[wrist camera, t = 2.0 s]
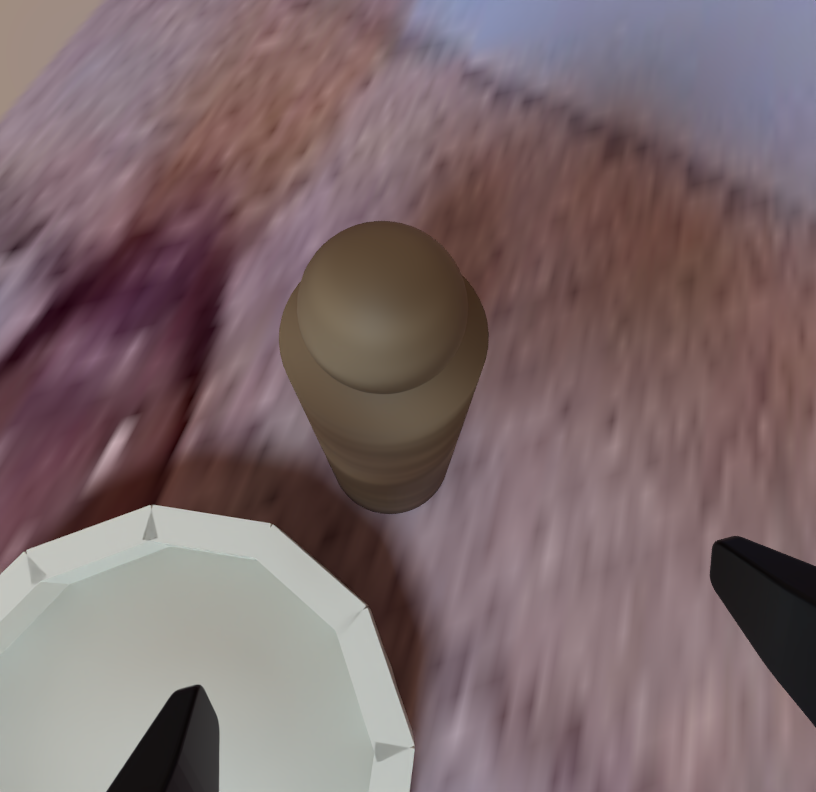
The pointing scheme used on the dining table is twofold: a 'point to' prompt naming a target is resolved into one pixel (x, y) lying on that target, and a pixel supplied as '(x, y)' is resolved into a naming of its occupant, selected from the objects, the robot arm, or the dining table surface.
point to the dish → (193, 658)
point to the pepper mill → (385, 360)
